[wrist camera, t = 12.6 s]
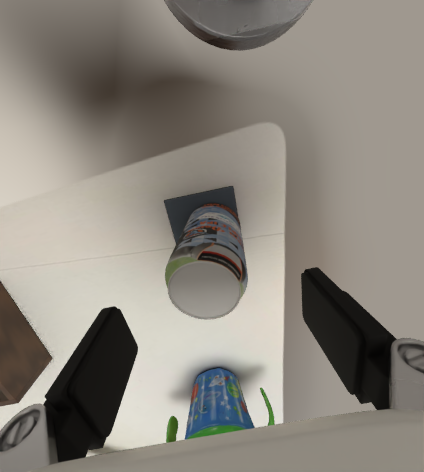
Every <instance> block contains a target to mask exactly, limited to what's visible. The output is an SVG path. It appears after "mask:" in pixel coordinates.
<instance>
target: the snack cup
mask: <svg viewBox="0 0 424 472" xmlns="http://www.w3.org/2000/svg"><path fill="white" fill-rule="evenodd" d="M260 390H261V393H262V395H263V397H264V400H265V403H266V406H267V408H268V411H269V423H268V426H270V425H274V415H273V411H272V408H271V405H270V403H269V400H268V398H267V396H266V394H265V392H264V390H263V389H262V388H260ZM252 428H255V427H254V425H253V423H252V420H251V418H250V416H249V413H248V410H247V406H246V403H245V400H244V397H243V394H242V391H241V388H240V384H239V382H238V379H237V377H236V376H235V375H233V374H232V373H231V372H229V371H227V370H223V369H221V368H217V369H211V370H208V371H206V372H204V373H203V374H200V375H198V377H197V379H196V381H195V383H194V386H193V392H192V397H191V404H190V411H189V415H188V422H187V430H186V435H185V440H186V439H192V438H198V437H204V436H210V435H216V434H222V433H228V432H234V431H240V430H246V429H252ZM177 429H178V421H177V419H176V418H175V417H174V416H171V418H170V419H169V422H168V427H167V439H166V442H167V443H169V442H175V441H176V434H177Z"/></svg>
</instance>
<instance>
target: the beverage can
mask: <svg viewBox="0 0 424 472" xmlns="http://www.w3.org/2000/svg"><path fill="white" fill-rule="evenodd" d="M165 280H166V284H167V288H168V294H169V298H170V299H171V301H172V303H173V304H174V305H175V307H176V308H177V309H179V310H180V311H181V312H183V313H184V314H186V315H188V316H191V317H194V318H198V319H216V318H220V317H223V316H225V315H227V314H229V313H230V312H232V311H233V310H234V309H235V308H236V306H237V305H238V303H239V301H240V299H241V297H242V296H243V294H244V292H245V290H246V287H247V282H248V276H247V268H246V261H245V254H244V247H243V240H242V234H241V227H240V222H239V219H238V217H237V215H236V214H235V212H234V211H233V210H232V209H230V208H229V207H227V206H225V205H223V204H219V203H207V204H204V205H202V206H200V207H198V208H197V209H195V210H194V211H193V213H192V214H191V216H190V217H189V220H188V222H187V224H186V226H185V228H184V230H183V232H182V234H181V236H180V238H179V240H178V242H177V245H176V247H175V249H174V251H173V253H172V255H171V257H170V259H169V261H168V264H167V266H166V272H165Z"/></svg>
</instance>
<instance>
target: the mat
mask: <svg viewBox="0 0 424 472" xmlns="http://www.w3.org/2000/svg"><path fill="white" fill-rule="evenodd" d="M164 203H165V206H166V210H167V213H168V217H169V220H170V224H171V227H172V231H173V234H174V238H175V241H176V245H177V242H178V240H179V238H180V236H181V234H182V232H183V230H184V228H185V226H186V224H187V222H188V220H189V217H190V216H191V214H192V213H193V211H194V210H195V209H197V208H198V207H200V206H202V205H204V204H207V203H219V204H223V205H225V206H227V207H229V208H230V209H232V210H233V211H234V212H235V214H236V215H237V217H238V214H237V207H236V201H235V195H234V188H233V186H230V187H225V188H220V189H215V190H211V191H206V192H201V193H196V194H192V195H187V196H182V197H177V198H173V199H168V200H164Z"/></svg>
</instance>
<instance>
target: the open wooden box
mask: <svg viewBox="0 0 424 472" xmlns="http://www.w3.org/2000/svg"><path fill="white" fill-rule="evenodd" d="M51 360H52V357H51V356H50V354H49V353H48V351H47V350H46V348H45V347H44V345H43V344H42V343H41V341H40V340H39V338H38V337H37V335H36V334H35V332H34V331H33V329H32V328H31V326H30V325H29V323H28V322H27V320H26V319H25V317H24V316H23V315H22V313H21V312H20V310H19V309H18V307H17V306H16V304H15V303H14V301H13V300H12V298H11V297H10V295H9V294H8V292H7V291H6V289H5V288H4V287H3V285H2V284H1V282H0V406H5V405H10V404H15V403H19V402H20V400H21V399H22V398H23V396H24V395H25V394H26V392H27V391H28V390H29V389H30V387H31V386H32V385H33V383H34V382H35V381H36V379H37V378H38V377H39V375H40V374H41V373H42V372H43V370H44V369H45V368H46V366H47V365H48V364H49V362H50V361H51Z"/></svg>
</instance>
